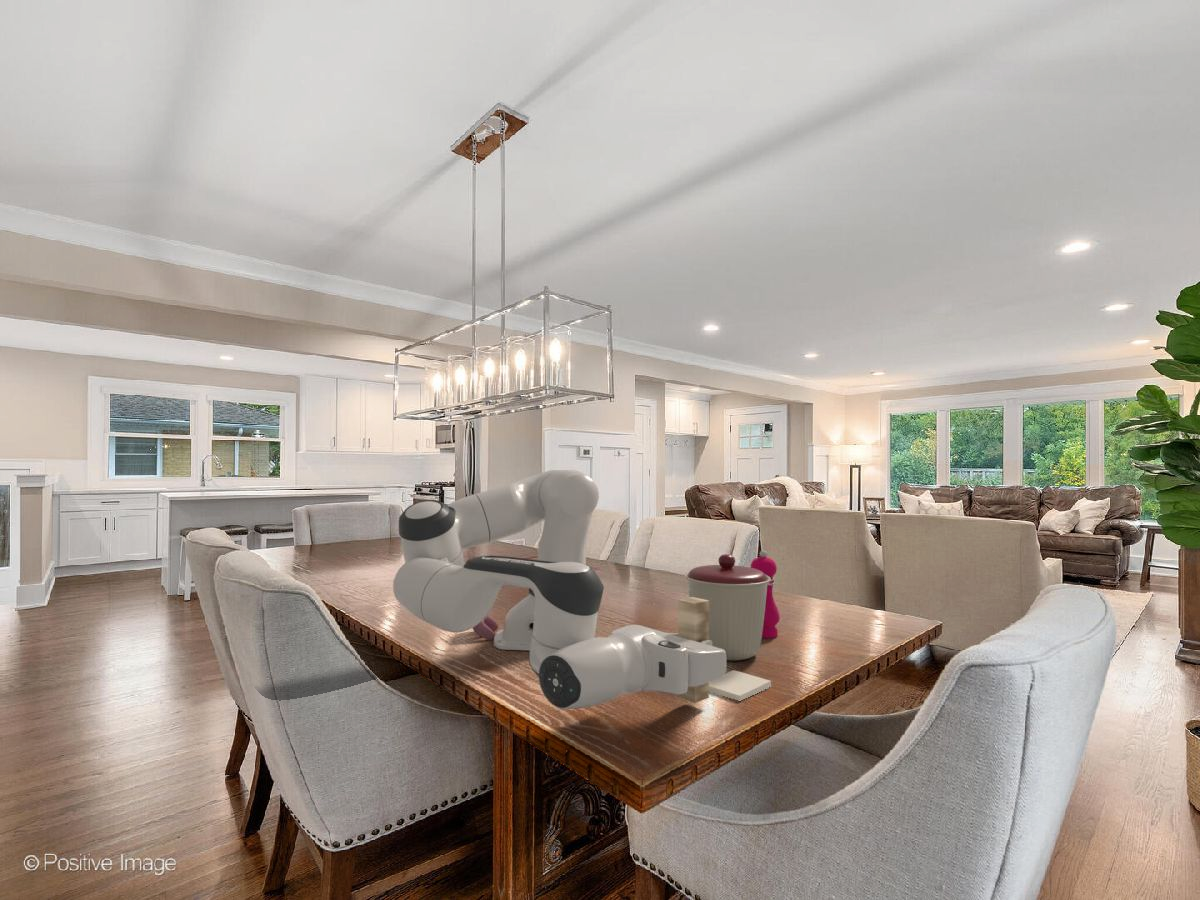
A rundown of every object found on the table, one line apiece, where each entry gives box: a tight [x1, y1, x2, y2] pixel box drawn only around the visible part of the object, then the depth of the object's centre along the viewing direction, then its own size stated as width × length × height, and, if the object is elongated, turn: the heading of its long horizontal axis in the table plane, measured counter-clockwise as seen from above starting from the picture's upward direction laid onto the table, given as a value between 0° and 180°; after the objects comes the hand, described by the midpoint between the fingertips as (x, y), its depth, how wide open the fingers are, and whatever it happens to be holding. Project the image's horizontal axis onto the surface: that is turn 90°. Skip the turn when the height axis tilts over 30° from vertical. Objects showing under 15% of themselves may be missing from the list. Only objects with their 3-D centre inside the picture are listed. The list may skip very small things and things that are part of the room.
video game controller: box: [472, 613, 499, 641], centre depth 140 cm, size 10×5×7 cm, turn 5°
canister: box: [683, 554, 771, 661], centre depth 127 cm, size 18×18×21 cm
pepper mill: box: [750, 550, 780, 639], centre depth 141 cm, size 7×7×20 cm
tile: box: [709, 669, 772, 702], centre depth 107 cm, size 2×8×10 cm
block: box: [677, 596, 710, 704], centre depth 99 cm, size 4×4×16 cm
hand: (697, 641), depth 99 cm, fingers closed on block, 4 cm apart
